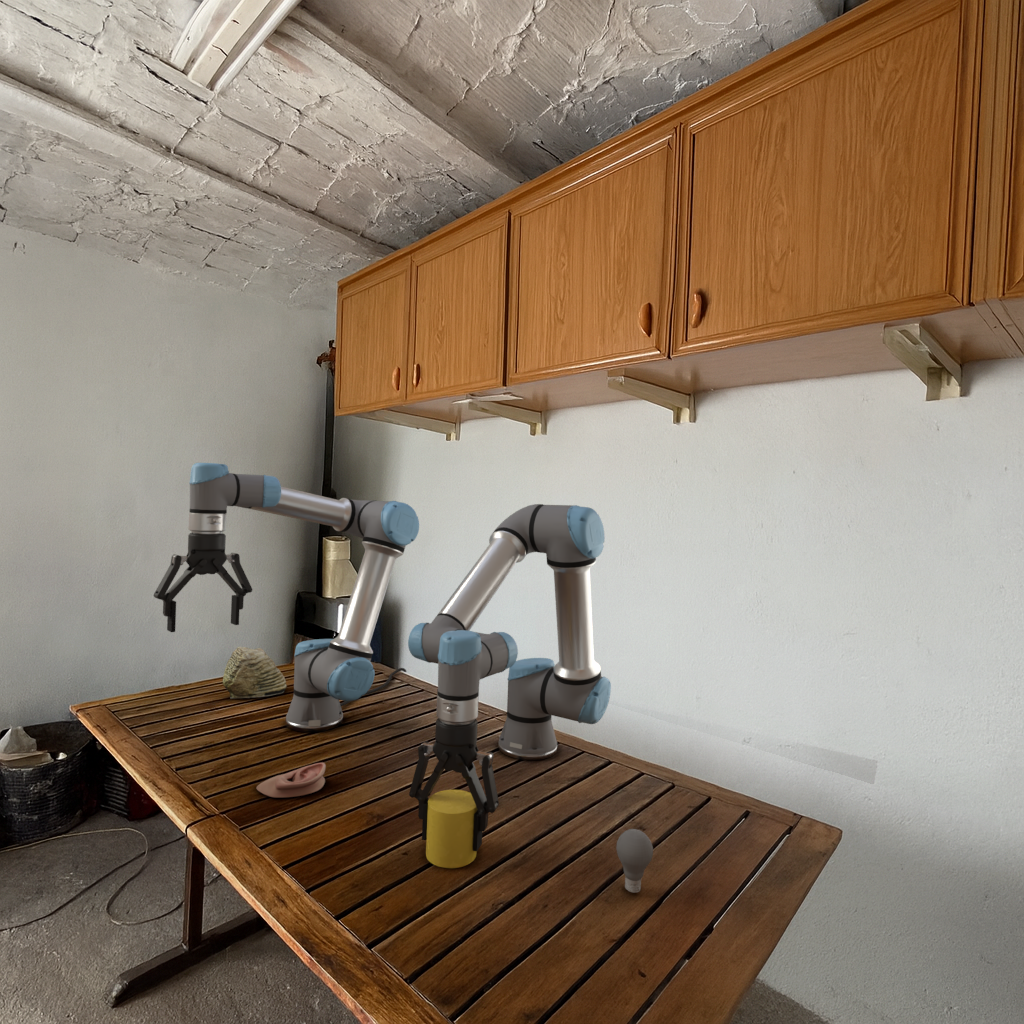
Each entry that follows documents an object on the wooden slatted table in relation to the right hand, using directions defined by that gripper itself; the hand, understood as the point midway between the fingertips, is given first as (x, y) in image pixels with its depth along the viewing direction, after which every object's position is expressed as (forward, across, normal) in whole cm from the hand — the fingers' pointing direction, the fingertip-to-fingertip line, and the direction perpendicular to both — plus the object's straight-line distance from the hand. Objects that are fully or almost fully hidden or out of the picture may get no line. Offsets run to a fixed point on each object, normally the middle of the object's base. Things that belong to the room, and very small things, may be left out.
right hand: (451, 841), depth 115 cm
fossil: (+2, -91, +60) cm, 109 cm away
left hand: (-31, -65, +9) cm, 72 cm away
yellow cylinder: (+2, 0, 0) cm, 2 cm away
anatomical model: (+2, -42, +11) cm, 44 cm away
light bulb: (+2, +32, 0) cm, 32 cm away
